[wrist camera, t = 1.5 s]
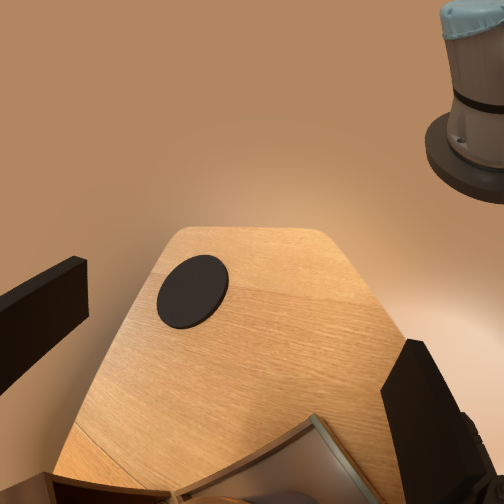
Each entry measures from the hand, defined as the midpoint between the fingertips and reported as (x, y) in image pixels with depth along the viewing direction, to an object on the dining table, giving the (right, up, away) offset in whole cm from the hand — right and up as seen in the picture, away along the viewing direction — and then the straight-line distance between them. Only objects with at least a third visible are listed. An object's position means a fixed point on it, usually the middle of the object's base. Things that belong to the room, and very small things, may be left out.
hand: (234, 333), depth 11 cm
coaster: (-7, -2, +29) cm, 30 cm away
